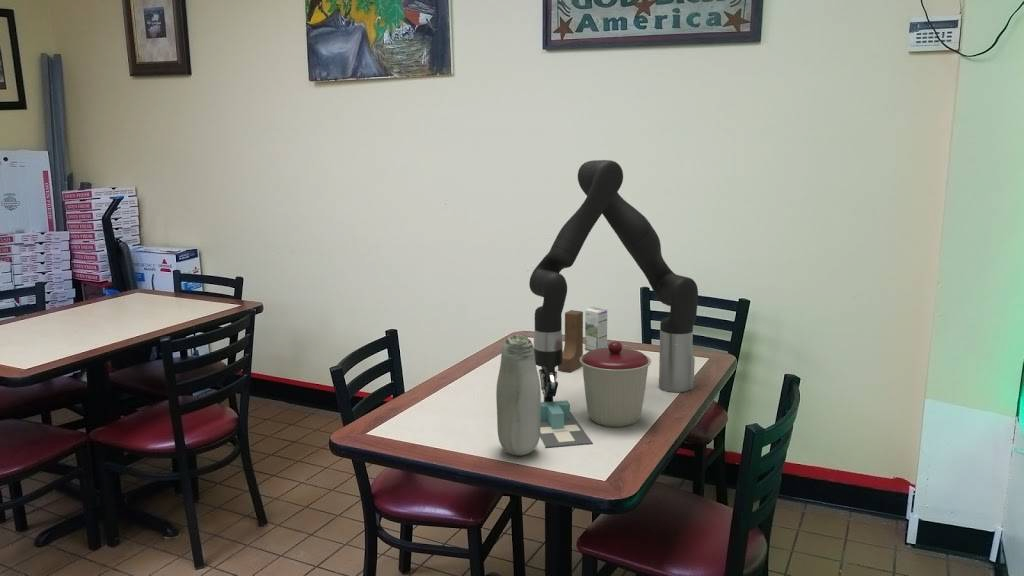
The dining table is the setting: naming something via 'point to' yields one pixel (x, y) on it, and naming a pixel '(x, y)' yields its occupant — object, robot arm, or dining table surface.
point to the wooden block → (572, 341)
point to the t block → (555, 413)
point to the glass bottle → (518, 397)
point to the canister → (614, 384)
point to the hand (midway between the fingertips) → (548, 409)
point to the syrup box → (595, 328)
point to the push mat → (563, 434)
